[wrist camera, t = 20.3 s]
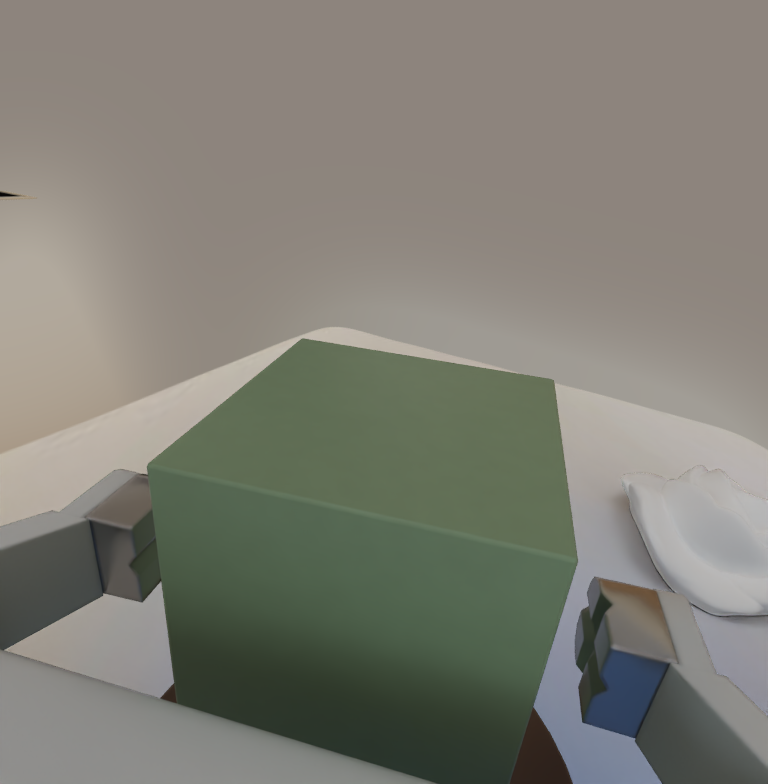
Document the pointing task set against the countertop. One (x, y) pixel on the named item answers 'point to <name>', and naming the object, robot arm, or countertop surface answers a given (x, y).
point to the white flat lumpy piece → (705, 538)
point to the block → (370, 557)
